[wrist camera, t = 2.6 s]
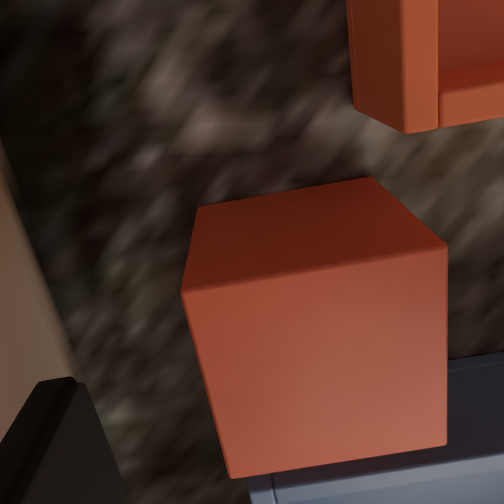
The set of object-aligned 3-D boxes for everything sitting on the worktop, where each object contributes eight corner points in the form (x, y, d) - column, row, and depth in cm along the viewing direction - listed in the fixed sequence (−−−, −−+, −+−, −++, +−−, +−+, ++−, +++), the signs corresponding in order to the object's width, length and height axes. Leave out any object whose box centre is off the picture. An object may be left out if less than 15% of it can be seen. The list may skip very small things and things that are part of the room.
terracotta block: (229, 350, 14) (229, 481, 9) (196, 205, 12) (178, 290, 8) (381, 324, 13) (449, 447, 9) (372, 174, 12) (449, 243, 7)
